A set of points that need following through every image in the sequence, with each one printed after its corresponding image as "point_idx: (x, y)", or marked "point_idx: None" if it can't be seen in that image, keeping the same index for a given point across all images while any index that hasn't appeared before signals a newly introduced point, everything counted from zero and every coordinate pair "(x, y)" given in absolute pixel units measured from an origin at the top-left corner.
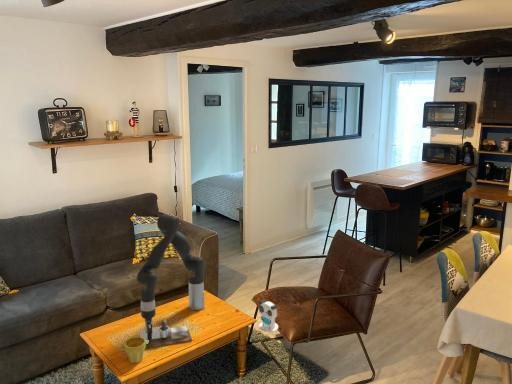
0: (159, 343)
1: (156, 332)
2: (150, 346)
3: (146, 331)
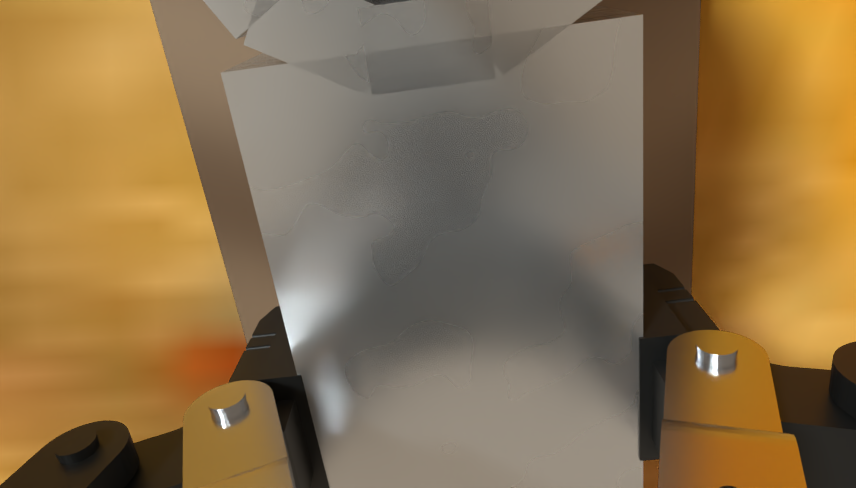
0: (659, 14)
1: (629, 152)
2: (688, 220)
3: (532, 483)
